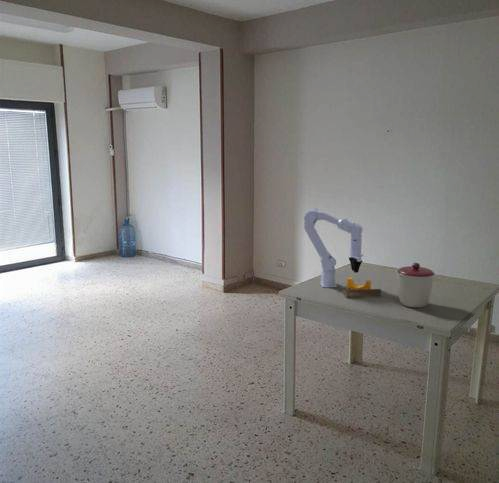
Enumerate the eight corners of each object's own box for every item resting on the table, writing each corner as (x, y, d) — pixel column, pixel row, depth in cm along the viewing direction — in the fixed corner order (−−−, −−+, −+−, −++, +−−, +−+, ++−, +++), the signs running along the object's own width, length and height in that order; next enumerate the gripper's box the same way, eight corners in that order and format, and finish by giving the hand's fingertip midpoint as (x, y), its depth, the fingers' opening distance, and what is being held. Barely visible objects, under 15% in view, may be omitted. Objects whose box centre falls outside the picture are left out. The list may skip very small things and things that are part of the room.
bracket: (342, 293, 255) (343, 286, 254) (376, 293, 256) (376, 285, 255) (346, 297, 249) (346, 290, 248) (380, 296, 250) (380, 289, 249)
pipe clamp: (346, 291, 261) (346, 279, 260) (348, 288, 265) (349, 277, 263) (368, 294, 255) (368, 282, 254) (370, 291, 259) (371, 280, 258)
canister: (397, 310, 230) (399, 267, 226) (391, 298, 247) (393, 258, 243) (437, 311, 227) (440, 268, 223) (428, 299, 245) (431, 259, 241)
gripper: (367, 249, 254) (366, 274, 257) (359, 244, 268) (358, 267, 271) (354, 250, 253) (353, 275, 256) (346, 244, 268) (345, 268, 270)
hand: (354, 271), depth 263 cm, fingers open, 3 cm apart
